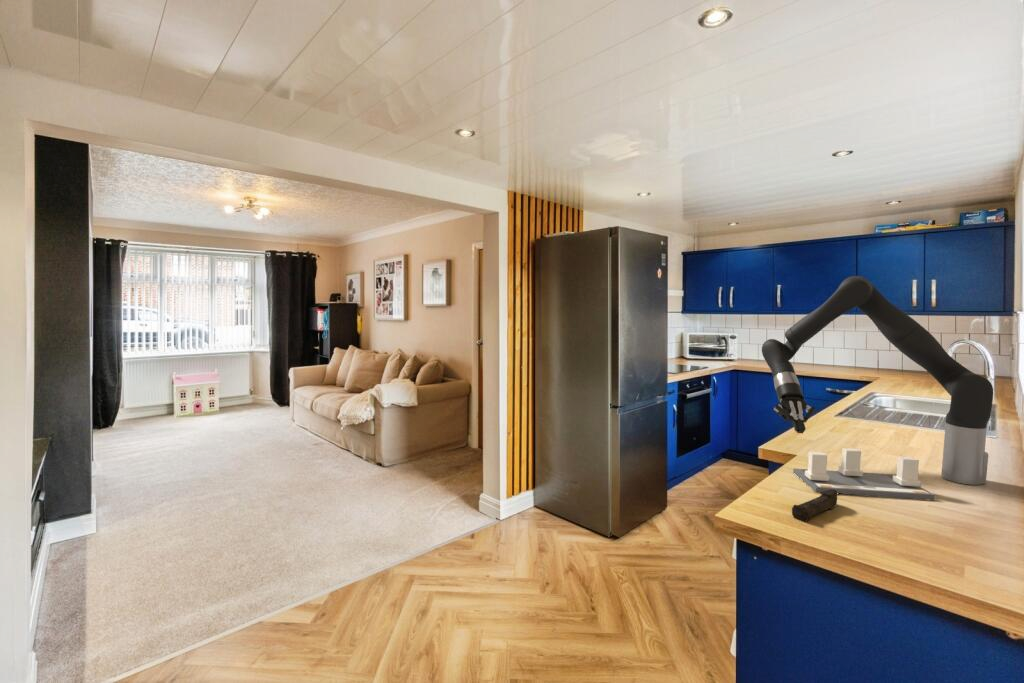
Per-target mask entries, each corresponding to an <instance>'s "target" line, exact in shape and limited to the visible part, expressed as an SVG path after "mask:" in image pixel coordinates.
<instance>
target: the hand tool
mask: <svg viewBox="0 0 1024 683" xmlns="http://www.w3.org/2000/svg"><path fill="white" fill-rule="evenodd" d="M820 494H821V495H819V496H817V497H815V498H812V499H810V500H808V501H805V502H803V503H800V504H794V505H793V506H792V507H791V516H792V517H793V518H794V519H795V520H798V521H800V520H801V521H800V522H807V521H809V520H810V519H811V518H812V517H814V516H816V515H818V514H821V513H822V512H824V511H826V510H828V511H832V510H833V508H834V509H835V508H836V506H837V504H838V494H837V491H836V490H833V489H830V490H826V491H823V492H822V493H820Z"/></svg>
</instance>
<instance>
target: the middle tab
mask: <svg viewBox="0 0 1024 683" xmlns="http://www.w3.org/2000/svg"><path fill="white" fill-rule="evenodd" d="M841 452H842V453H841V464H840V465H838V466H837V471H839V472H841V473H842V474H843V475H848V476H863V473H864V471H863V470H861V463H862V462H861V460H862V459H861V458H862V451H861V450H860V449H858V448H850V447H849V448H848V447H847V448H845V447H842V451H841Z"/></svg>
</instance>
